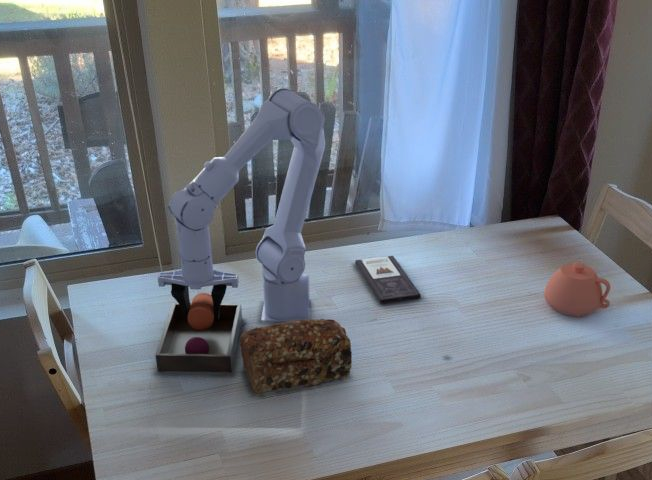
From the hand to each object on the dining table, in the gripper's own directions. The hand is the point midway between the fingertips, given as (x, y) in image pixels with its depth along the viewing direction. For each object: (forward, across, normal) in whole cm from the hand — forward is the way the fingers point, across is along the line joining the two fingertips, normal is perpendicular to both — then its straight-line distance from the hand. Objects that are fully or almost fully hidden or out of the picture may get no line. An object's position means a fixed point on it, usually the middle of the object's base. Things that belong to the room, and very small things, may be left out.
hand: (202, 317), depth 159 cm
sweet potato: (+1, 0, 0) cm, 1 cm away
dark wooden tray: (+4, 0, -3) cm, 5 cm away
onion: (+4, 0, -8) cm, 9 cm away
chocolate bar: (+5, +36, +23) cm, 43 cm away
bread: (+5, +18, -12) cm, 22 cm away
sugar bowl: (+5, +76, +13) cm, 78 cm away
